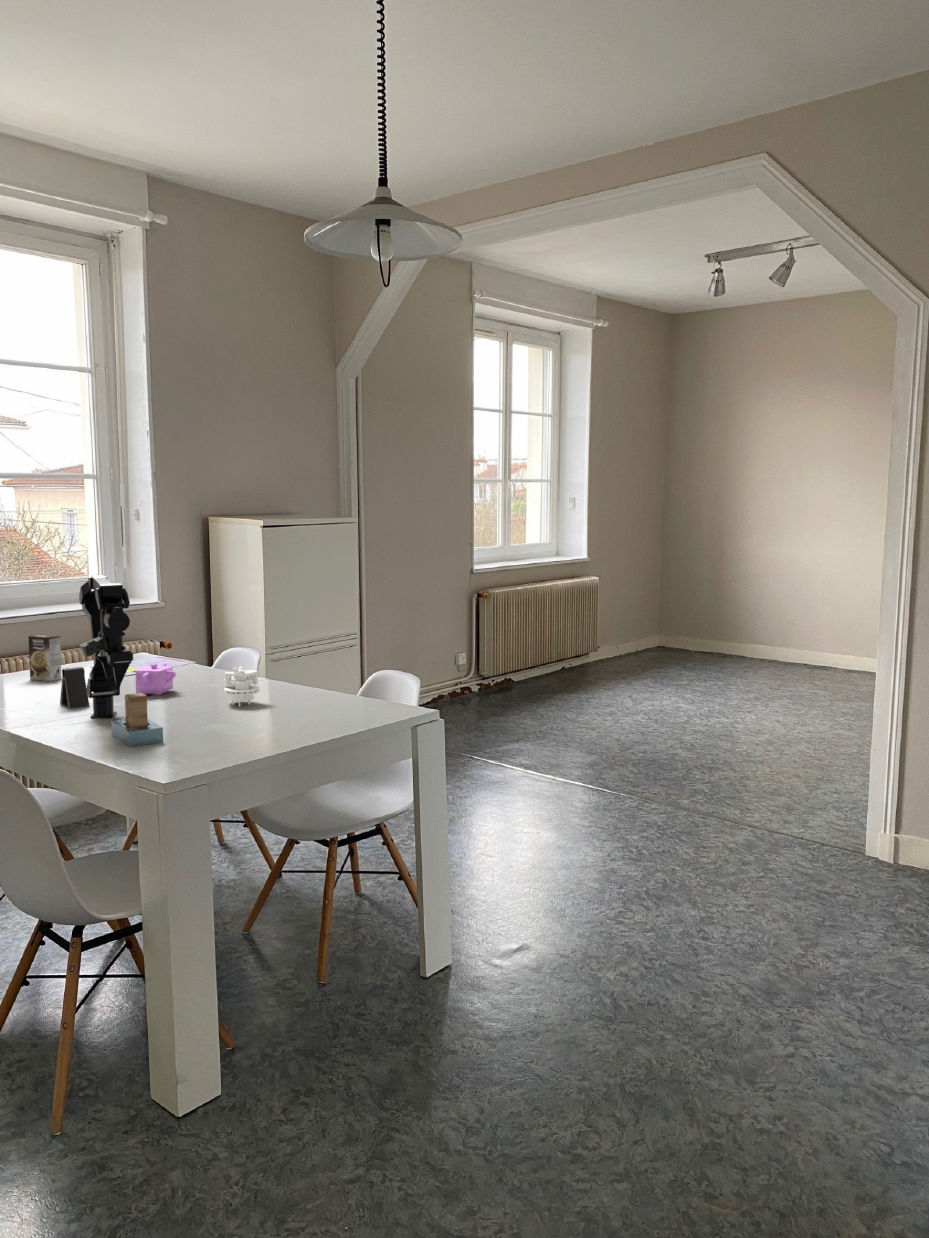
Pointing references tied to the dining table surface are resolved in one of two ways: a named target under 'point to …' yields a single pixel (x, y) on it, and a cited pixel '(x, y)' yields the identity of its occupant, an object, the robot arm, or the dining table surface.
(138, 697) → the wooden square peg
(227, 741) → the dining table surface
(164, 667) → the teapot
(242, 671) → the mechanical part
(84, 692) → the phone stand
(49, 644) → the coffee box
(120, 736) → the socket block
